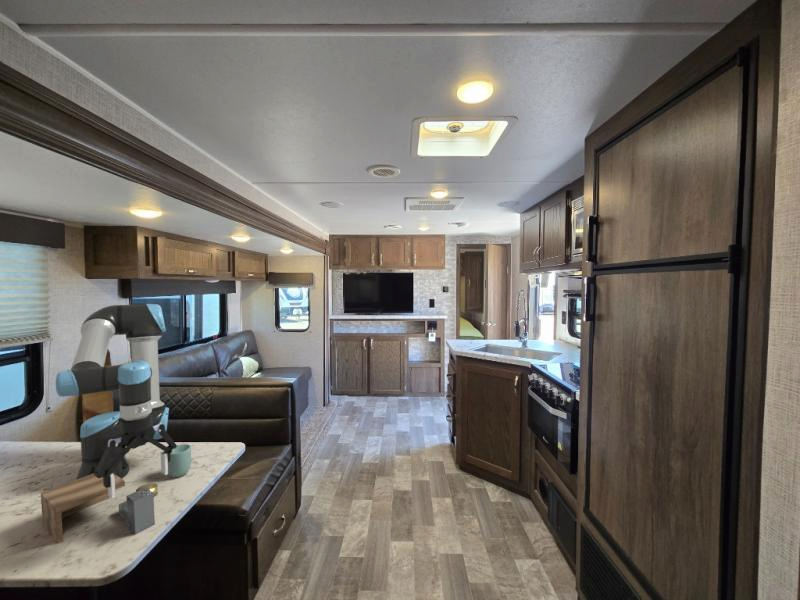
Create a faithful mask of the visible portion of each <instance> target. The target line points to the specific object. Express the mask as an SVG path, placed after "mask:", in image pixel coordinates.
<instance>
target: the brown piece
mask: <svg viewBox="0 0 800 600" xmlns="http://www.w3.org/2000/svg"><path fill="white" fill-rule="evenodd" d="M112 474H113V475H114V478H115V491H116V490H117V489H120V488H123V487H125V486H126V481H125V480H124V479H123V478H120V477H118V476H117V475H115V474H114V473H112ZM76 479H77V478H76ZM76 479H75V480H72V481H70V482H67V483H64V484H62V485H59V486H56V487H54V488H51V489H48V490H45V491H43V492H40V501H41V503H40V504H41V520H42V526H43V528H45V530H46V531H47V532H48V533H49V534H50V535H51V537H52V538H53V540H55V542H56V543H57V544H60V543H62V542H64V537H63V536H64V535H63V521H62V519H64V518H67V517H68V516H71V515H73V514H75V513H77V512H80V511H82V510H85V509H87V508H89V507H91V506H94V505H96V504H99V503H100V502H103V501H106V500H107V499H110V496H108V488H106V487H104V485H103V477H101V478H97V477H96V476H95V475H94V474H91V475H88V476H86V477H83V478H80V479H77V480H76Z"/></svg>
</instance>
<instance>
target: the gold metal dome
mask: <svg viewBox="0 0 800 600" xmlns="http://www.w3.org/2000/svg"><path fill="white" fill-rule="evenodd" d="M145 487H146V488H148V489H149V490H151V491H152V492H153V493H154V498H155V497H156V496H157V495H158V493H159V491H158V483H156V482H149V483H146V484H143V485H140V486H138V487H137V488H136V490H135V492H136V491H139V490H141V489H143V488H145Z"/></svg>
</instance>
